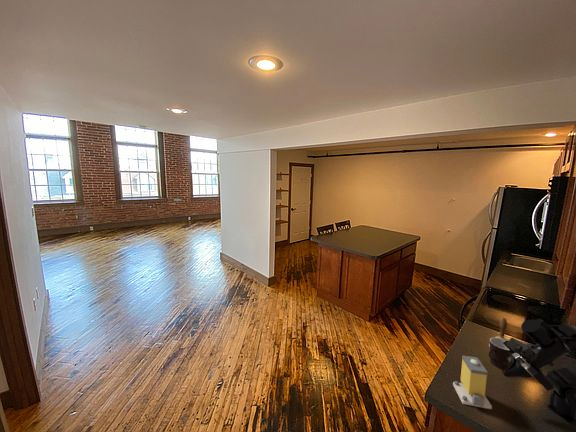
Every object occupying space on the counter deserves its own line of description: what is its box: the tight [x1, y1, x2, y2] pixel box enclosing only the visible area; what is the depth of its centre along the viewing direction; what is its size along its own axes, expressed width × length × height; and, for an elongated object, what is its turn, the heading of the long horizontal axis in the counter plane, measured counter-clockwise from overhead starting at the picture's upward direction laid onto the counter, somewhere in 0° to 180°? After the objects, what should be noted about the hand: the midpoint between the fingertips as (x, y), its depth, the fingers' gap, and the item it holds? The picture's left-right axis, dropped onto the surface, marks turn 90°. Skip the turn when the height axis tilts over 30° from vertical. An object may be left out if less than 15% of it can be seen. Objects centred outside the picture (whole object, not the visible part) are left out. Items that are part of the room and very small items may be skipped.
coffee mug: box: [488, 337, 513, 371], centre depth 110 cm, size 12×9×10 cm
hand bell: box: [488, 317, 508, 348], centre depth 119 cm, size 8×8×16 cm
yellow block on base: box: [460, 355, 489, 397], centre depth 93 cm, size 5×8×13 cm, turn 166°
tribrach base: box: [452, 380, 493, 410], centre depth 94 cm, size 9×11×4 cm
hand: (504, 375), depth 90 cm, fingers closed
